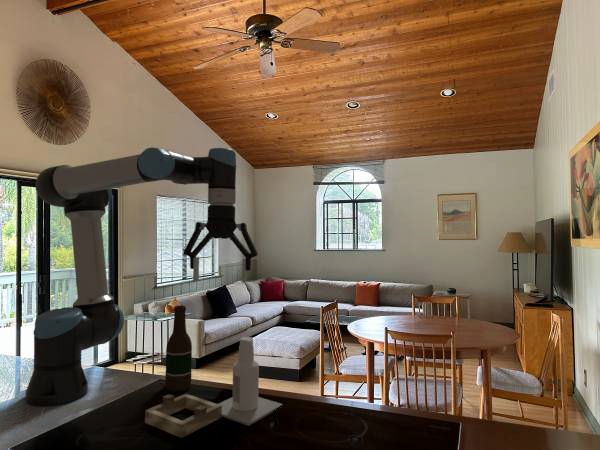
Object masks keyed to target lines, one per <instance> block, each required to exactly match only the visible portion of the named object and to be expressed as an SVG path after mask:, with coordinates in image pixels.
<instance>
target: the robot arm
mask: <svg viewBox="0 0 600 450" xmlns="http://www.w3.org/2000/svg"><path fill="white" fill-rule="evenodd" d="M237 167H238V166H237V155H236V151H235V150H234V149H231V148H225V147H213V148H210V149H209V150H208V155H207V156H189V155H186V154H181V153H178V152H174V151H170V150H167V149H165V148H162V147H155V146H154V147H147V148H145V149H144V150H143V151H142V152H141V153H138V154H134V155H133V154H132V155H129V156H123V157H118V158H114V159H108V160H102V161H98V162H92V163H85V164H82V165H77V166H71V165H69V164H61V165H57V166H50V167H48V168H45V169H44V170H41V172H40V173H39V174H38V176H37V177H36V181H35V191H36V193H37V195H38V197H39V198H40V199H41V200H42V201H43V202H44V203H45V204H48V205H50V206H53V207H57V208H63V214H64V216H65V217H66V218H68V220H70V227H71V228H70V229H71V230H70V231H71V239H72V240H71V242H72V249H73V250H72V252H73V261H74V271H75V283H76V285H75V286H76V294H77V298H76V300H74V302H72V306H70V307H69V306H67V307H60V308H54V309H50V310H47V311H45V312H43V313H40V314H39V315H38V316H37V317H36V318H35V320H34V328H33V329H34V330H33V372H32V374H31V377H30V379H29V382H28V386H27V388H26V390H25V402H26V403H27V404H29V405H32V406H36V407H39V406H41V407H46V406H49V407H50V406H57V405H62V404H67V403H71V402H73V401H76V400H78V399H80V398H83V397H84V396H85V395H86V394H87V393H88V390H89V389H88V388H89V387H88V386H89V384H88V380H87V378H86V374H85V371H84V369H83V367H82V351H85V350H88V349H91V348H93V347H97V346H99V345H105V344H107V343H109V342H110V341H113V340H114V339H116V338H117V337H118V336H119V334H120V333H122V331H123V328H124V324H125V316H124V313H123V310H122V309H121V308H120V306H119V305H118V304H115V298H114V297H113V296H111V295H110V294H109V287H108V279H107V269H106V268H107V267H106V256H105V245H104V236H103V225H102V218H103V216H104V215H105V214H106V207H107V206H109V205H110V201H112V197H113V192H112V191H113V190H112V189H116V188H121V187H127V186H134V185H138V184H144V183H150V182H157V181H158V182H159V181H170V182H172V183H173V184H176V185H177V184H178V185H197V184H208V185H207V187H208V188H207V203H208V204H209V205H208V206H207V222H206V223H205V222H202V221H196V222H195V227H194V230H193V233H192V234H191V237H190V238H189V240H188V242H187V245H186V246H185V247H184V248H185V249H184V250H183V255H184V256H188V257H189V260H190V261H189V268H190V270H193V274H192V275H193V276H192V278H193V279H192V282H198V281H199V280H200V279H199V278H200V257H199V256H198V255H199V253H201V251H202V250H203V249H204V248H205V247H206V245H207V244H208V243H209V242H210V241H211V240H212V239H213V238H214V240H215V239H216V240H217V239H223V240H227V239H229V240H230V241H232V243H233V244H234V245H235V246H236V248H237V249H238V250H239V251H240V253H241V254H242V255H243V257H244V258H243V259H242V268H241V269H242V270H241V271H242V272H241V274H242V276H241V277H242V279H241V281H242V282H241V283H242V284H245V283H248V272H249V271H251V269H252V268H251V267H252V266H251V265H252V258H254V257H257V256H258V251H257V249H256V247H255V245H254V242H253V241H252V239H251V236H250V234H249V232H248V227H247V223H246V222H241V223H237V222H236V207H235V204H236V195H237V194H236V193H237V191H236V190H237V189H236V188H237V186H236V181H237V180H236V178H237V177H236V176H237ZM205 228H206V230H207V231H208V232H207V233H206V235H204V238H203V239H202V240H201V241H200V242H199V243H198V244H197V245H196V247H195V248H194V246H195V244H196V243H197V241H198V238H200V235H201V233H202V231H203V230H204V229H205ZM237 229H238V231H240V232H241V234H242V236H243V237H242V238H243V239H244V241H245V243H246V246H247V247H248V249H249V250H248V249H247V248H246V247H245V245H244V244H243V243H242V242H241V241H240V239H239V238H238V237H237V235H236V234H235V233H234V232H235V231H236V230H237Z"/></svg>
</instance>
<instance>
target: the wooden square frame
mask: <svg viewBox="0 0 600 450" xmlns="http://www.w3.org/2000/svg"><path fill="white" fill-rule="evenodd" d="M218 404H219V403H215V402H212V401H209V400H206V399H203V398H200V397H197V396H194V395H191V394H189V393H184V394H182V395H179V396H177V397H175V395H172V394H169V393H168V394H166V395H164V396H162V403H160V404H158V405H155V406H152V407H150V408H148V409H146V410H144V423H145V424H146V425H149V426H152V427H154V428H157V429H159V430H162V431H163V432H166V433H169V434H172V435H173V436H176V437H179V438H181V439H182V438H185V437H186V436H188V435H190V434H192V433H194V432H196V431H198V430H200V429H202V428H205V427H206V426H208V425H209V424H211V423H213V422H216V421H218V420H220V419H221V418H223V417H222V406H221V405H218ZM184 409H187V410H189V411H193V412H194V415H191V416H189V417H187V418H185V419H183V420H181V419H179V418H178V417H177V418H176V417H174V416H172V415H173V414H175V413H177V412H180V411H182V410H184Z"/></svg>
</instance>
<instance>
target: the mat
mask: <svg viewBox="0 0 600 450" xmlns="http://www.w3.org/2000/svg"><path fill="white" fill-rule="evenodd" d="M217 404H218V405H221V406H222V417H221V418H225V419H228V420H231V421H234V422H237V423H240V424H243V425H245V426H251V425H253V424H254V423H256V422H257V421H260V420H261V419H264V418H265V417H267V416H269V415H270V414H271V413H274V412H275V411H277V410H278V409H277V408H279V407H280V406H282V407H283V403H280V402H277V401H274V400H271V399H267V398H263V397H260V396H258V407H257V408H256V409H254V410H251V411H238V410H235V409H234V408H233V407H232V397H230V398H228V399H225V400H223V401H221V402H219V403H217ZM280 408H281V407H280ZM280 408H279V409H280ZM276 409H277V410H276ZM274 410H275V411H274ZM273 411H274V412H273Z"/></svg>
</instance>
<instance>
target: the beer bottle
mask: <svg viewBox="0 0 600 450" xmlns="http://www.w3.org/2000/svg"><path fill="white" fill-rule="evenodd" d="M173 311H174V316H173V326H172V327H173V329H172V334H171V335H170V336H169V338H168V341H167V343H166V349H165V381H164V382H165V389H166V391H167V390H168V391H170V392H184V391H186V390H188V389H190V388H191V385H192V364H193V363H192V361H193V360H192V359H193V358H192V356H193V355H192V354H193V346H192V345H193V344H192V339H191V337H190V335H189V333H188V332H187V325H186V311H187V307H186V306H185V305H176V306H174V307H173Z"/></svg>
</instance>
